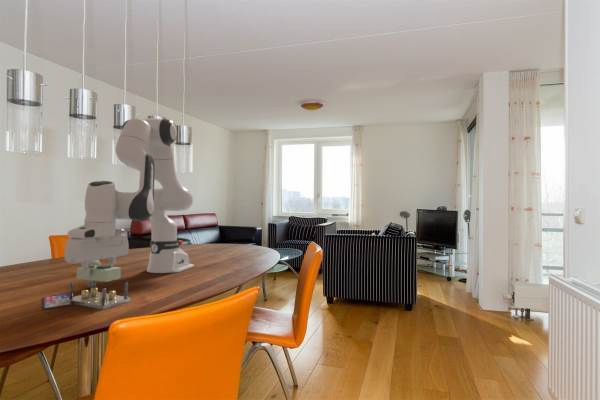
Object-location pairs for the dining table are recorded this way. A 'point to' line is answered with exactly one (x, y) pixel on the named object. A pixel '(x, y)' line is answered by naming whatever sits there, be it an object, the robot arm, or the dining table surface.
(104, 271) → the green block with holes
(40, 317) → the dining table surface
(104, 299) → the chassis
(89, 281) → the lightbulb
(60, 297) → the smartphone
